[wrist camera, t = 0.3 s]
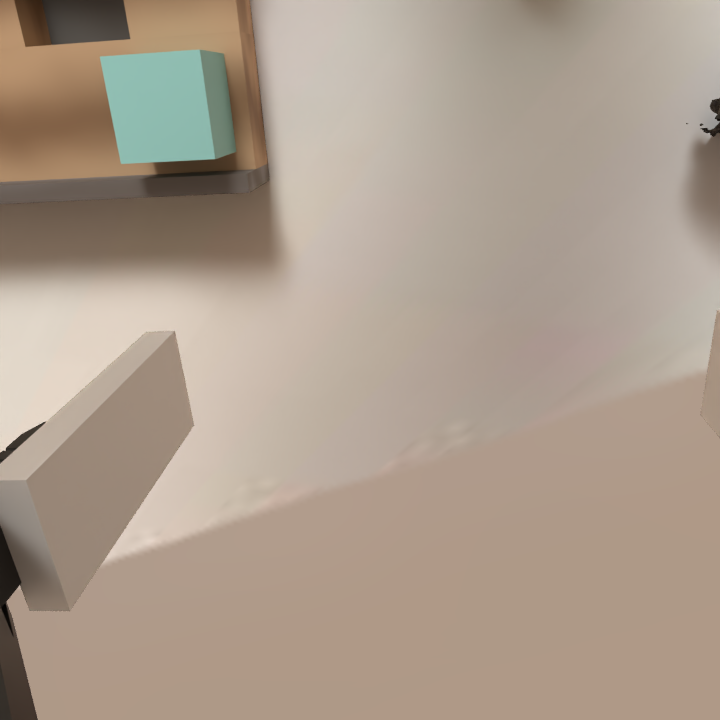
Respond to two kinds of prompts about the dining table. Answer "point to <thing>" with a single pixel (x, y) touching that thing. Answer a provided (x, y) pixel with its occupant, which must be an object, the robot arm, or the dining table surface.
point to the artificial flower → (716, 106)
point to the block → (169, 106)
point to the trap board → (91, 106)
